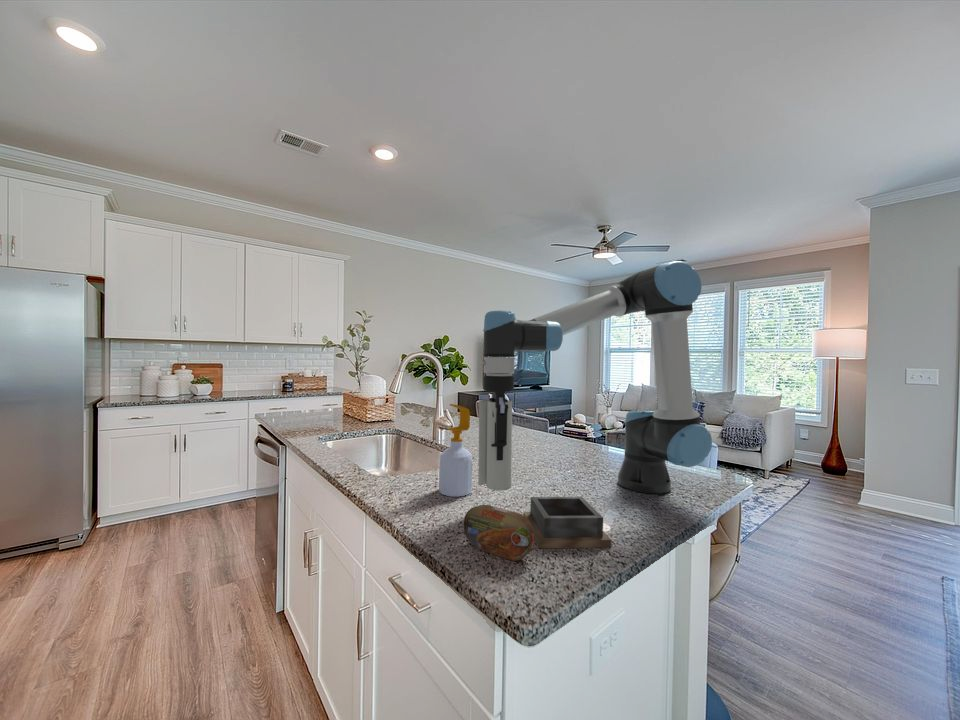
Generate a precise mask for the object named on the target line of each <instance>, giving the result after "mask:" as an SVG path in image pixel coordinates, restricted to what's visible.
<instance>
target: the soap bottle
mask: <svg viewBox="0 0 960 720" xmlns="http://www.w3.org/2000/svg"><path fill="white" fill-rule="evenodd" d="M449 406H451V407H453V408H457V409H458V410H459V424H458V426H454V427H453V426H452V427H447V429H446V430H448V431H451V433H452V434H453V437H451V438H450V446H449V447H447V448H446V449H445V450H443V451H442V452H441V454H440V456H439V471H438V475H439V477H438V492H439V493H440V494H441V495H443V496H445V495H446V497H451V498H459V497H460V496H461V497H465V495H466V496H468V495H470V494H471V493H472V490H473V489H472V487H473V486H472V484H473V481H472V480H473V455H472V453H471V452H470V451H469V450H468V449H466V448H464V446H463V444H464V443H463V438H462V437H461V434H462V432H465V431H468V430H469V429H470V425H471V423H470V421H471V419H470V418H471V411H470V409H469V408H467V407H465V406H462V405H458V404H453V403H449Z"/></svg>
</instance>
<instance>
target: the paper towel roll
mask: <svg viewBox="0 0 960 720" xmlns="http://www.w3.org/2000/svg"><path fill="white" fill-rule="evenodd" d="M507 400H508V399H507ZM505 404H508V412H507V445H506V446H505V447H503V460H497V447H491V444H494V443H495V423H496V407H495V402H491V401H490V399H486V400H479V401H478V482H477V483H478V486H486V488H487V489H489V490H491V491H496V492H497V491H500V492H501V491H503V492H504V491H507V490H510V489H511V487H512V468H513V467H512V464H513V463H512V459H513V458H512V456H513V455H512V454H513V452H512V451H513V449H512V448H513V438H512V437H513V401H512V400H508V402H505ZM493 414H494V417H493Z"/></svg>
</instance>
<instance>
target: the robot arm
mask: <svg viewBox="0 0 960 720" xmlns="http://www.w3.org/2000/svg"><path fill="white" fill-rule="evenodd" d="M702 287H703V286H702V279H701V277H700V275H699V273H698V271H697V270H696V269H695V268H694V267H692V265H691V264H689V263H688V262H685V261H680V260H679V261H678V260H677V261H676V260H675V261H670V262H664V263H661V264H659V265H656V266H654V267H651V268H647V269H643V270H641V271H638V272H636V273H634V274H632V275H630V276H629V277H627V278H625V279H623V280H621V281H619V282H617V283H614V284H612V285H609V286H607V287H606V288H605V290H604V291H603V292H601V293H597V294H595V295H592V296H590V297H587V298H584V299H581V300H579V301H576V302H574V303H570V304H569V305H567V306H563V307H560V308H558V309H555V310H553V311H550V312H547V313H545V314H543V315H539V316H537V317H534V318H533V319H530V320H520V319H517V318H516V314H515V312H513V311H510V310H490V311H488V312H485V313H486V314H485V315H484V320H483V321H484V322H483V331H482V332H483V360H481V362H480V364H481V365H482V366H483V373H484V374H485V375H484V376H482V377H483V379H482V381H483V383H482V388H483V390H484V391H485V392H491V393H492V394H491V397H489V400H490V401H491V402H495V407H496V423H495V443H494V444H491V447H497V460H503V447H505V446H506V445H507V412H508V404H505V402H508V399H507V398H506V393H508V392H513V391H514V389H515V377H514V375H513V374H515V363H516V361H515V360H516V359H515V352H517V353H521V352H546V353H547V352H555V351H558V350H559V349H560V348H561V346H562V344H563V341H564V339H563V337H564V336H565V335H568V334H570V333H573V332H576V331H578V330H580V329H583V328H586V327H587V326H590V325H591V326H592V325H593V324H595V323H599V322H600V321H603V320H606V319H608V318H611V317H614V316H615V317H617V318H621V317H623V316H625V315H626V316H627V315H629V314H633V313H639V312H644V315H645V318H647V319H648V320H649V321H650V322H651V327H652V328H651V329H652V340H653V341H652V343H653V358H654V368H655V369H654V370H655V385H656V400H657V409H656V410H632V411H631V410H630V411H628V412H627V413H626V415H625V422H624V425H625V427H624V430H625V432H624V459H623V461H622V464H621V467H620V468H619V471H618V473H617V484H618V485H619V486H621V487H623V488H624V489H627V490H631V491H634V492H638V493H645V494H666V493H669V492H671V490H672V481H671V477H670V474H669V471H668V468H667V465H666V462H669V463H671V464H672V465H675V466H681V467H685V468H694V467H697V466H698V465H700V464H702V463H703V462H704V461H705V459H706V458H708V456H709V455H710V452H711V450H712V444H713V439H712V435H711V432H710V431H709V430H708V429H707V428H706V427H705V426H703V425H702V424H701V414H700V412H698V411H697V410H696V409H695V408H694V404H693V390H692V376H691V375H692V372H691V362H690V348H689V347H690V343H689V333H688V332H689V331H688V318H689V317H690V316H691V315H692V313H693V310H694V307H693V303H695V302H696V301H697V300H698V298H699V296H700V295H701V293H702ZM493 417H494V414H493Z"/></svg>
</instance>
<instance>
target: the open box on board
mask: <svg viewBox="0 0 960 720" xmlns="http://www.w3.org/2000/svg"><path fill="white" fill-rule="evenodd" d="M523 516H525V517H526V518H527V519H528V520H529V521H530V523H531V525H532V527H533V529H534V535H535V543H536V545H537V547H538V549H574V548H578V549H579V548H581V549H582V548H583V549H584V548H585V549H587V548H612V539H611V537H609V535H608V534H606V532H605V531H604V516H602V515H601V514H600V513H599V512H598V510H596V509H595V508H594V507H593V506H592V505H591V504H590V503H589V502H588V501H587V500H586V499H585V498H584V497H583V496H530V510H529V511H523Z"/></svg>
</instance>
